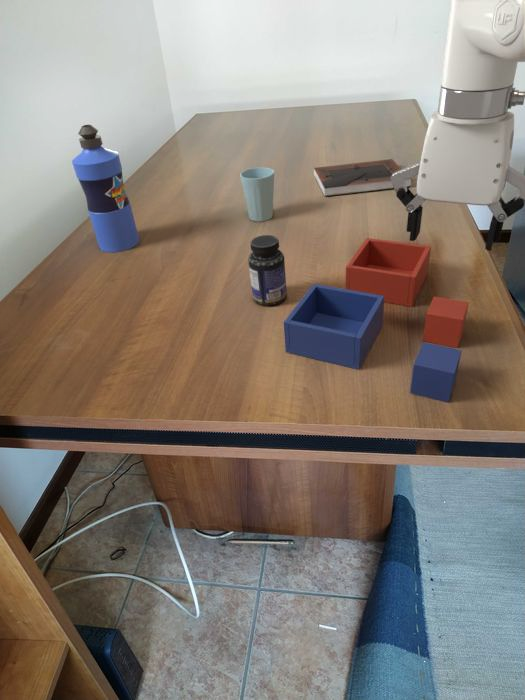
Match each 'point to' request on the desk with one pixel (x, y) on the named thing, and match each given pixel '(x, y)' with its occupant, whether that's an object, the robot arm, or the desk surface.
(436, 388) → the blue block
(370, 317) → the blue bin
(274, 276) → the pill bottle
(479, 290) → the desk surface
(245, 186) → the cup
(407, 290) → the red bin
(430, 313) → the red block
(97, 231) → the water bottle
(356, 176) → the hardcover book
